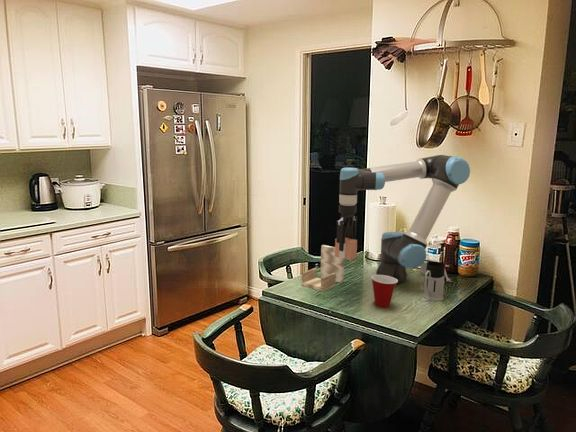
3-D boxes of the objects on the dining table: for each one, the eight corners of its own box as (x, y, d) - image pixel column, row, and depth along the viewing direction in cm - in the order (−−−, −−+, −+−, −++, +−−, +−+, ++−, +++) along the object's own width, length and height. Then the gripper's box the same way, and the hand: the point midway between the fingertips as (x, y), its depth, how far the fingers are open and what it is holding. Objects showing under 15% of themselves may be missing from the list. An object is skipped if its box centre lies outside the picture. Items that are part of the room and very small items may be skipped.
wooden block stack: (343, 281, 220) (344, 249, 217) (323, 291, 207) (324, 256, 204) (322, 276, 228) (323, 244, 225) (301, 285, 215) (302, 251, 212)
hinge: (451, 282, 222) (447, 264, 219) (443, 286, 221) (439, 268, 218) (428, 272, 238) (424, 254, 234) (421, 275, 236) (417, 258, 233)
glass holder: (446, 296, 204) (449, 263, 201) (433, 305, 193) (436, 271, 190) (427, 291, 209) (430, 259, 206) (413, 300, 199) (416, 266, 196)
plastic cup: (401, 309, 189) (403, 281, 187) (377, 311, 186) (378, 283, 184) (388, 299, 199) (389, 272, 197) (365, 301, 196) (366, 274, 194)
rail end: (356, 257, 203) (357, 239, 201) (350, 260, 199) (351, 242, 197) (340, 254, 208) (341, 236, 206) (334, 256, 204) (335, 238, 202)
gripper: (351, 200, 208) (348, 250, 212) (328, 205, 194) (326, 259, 198) (365, 202, 203) (363, 253, 208) (344, 207, 189) (341, 262, 194)
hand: (345, 256), depth 203 cm, fingers closed on rail end, 5 cm apart
